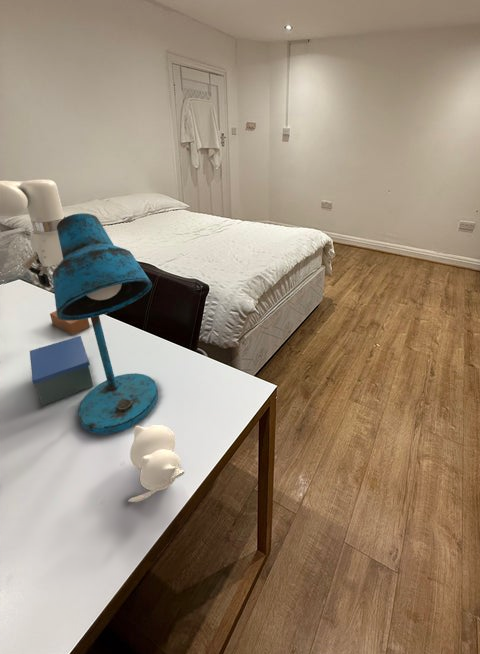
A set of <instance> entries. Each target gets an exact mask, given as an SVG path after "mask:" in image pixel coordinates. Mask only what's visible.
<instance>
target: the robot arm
mask: <svg viewBox="0 0 480 654" xmlns="http://www.w3.org/2000/svg"><path fill="white" fill-rule="evenodd" d="M58 189H59V188H58V184H57V183H56V182H55V181H54V180H52V179H46V178H45V179H43V178H42V179H41V178H40V179H38V178H37V179H30V180H29V179H28V180H24V181H23V180H0V216H1V217H9V218H10V217H16V216H19V215H21V214H23V213H24V212H25V211H26V210H27V212H28V215H29V219H30V222H31V226H32V231H30V234H29V235H30V247H31V253H32V255H30V256H29V257H27V258H26V259H25V260H24V261H23V262H22V263H21V266H22V267H24V268H25V269H26V270H27V271H29V272H31V273H33V274H36V275H37V276H36V277H37V279H38V282H39V284H40V285H41V286H43V287H46V288H49V287H51V283H50V280H49V276H48V274H47V273H46V272H47V270H48V268H50V267H54V266H58V265H59V264H60V263H61V261H62V260H63V256H62V251H61V246H60V241H59V236H58V231H57V224H58V223H59V222H60V221H61V220H62V219H63V218H65V217H66V216H65V214H64V210H63V205H62V201H61V197H60V193H59V190H58ZM34 263H35V264H36V267H34V266H33V264H34Z"/></svg>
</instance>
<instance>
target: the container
mask: <svg viewBox="0 0 480 654" xmlns="http://www.w3.org/2000/svg"><path fill="white" fill-rule="evenodd" d="M29 358H30V359H29V361H30V370H31V380H32V384H33V385H34V386H35V387H36V390H37V393H38V396H39V399H40V402H41V405H42V406H45V405H49V404H51V403H54V402H56V401H59V400H61V399H64V398H66V397H69V396H71V395H74V394H77V393H79V392H81V391H84V390H87V389H90V388H93V387H94V383H93V379H92V375H91V374H92V373H91V371H90V367H89V366H91V364H90V363H91V362H90V361H89V356H88V354H87V351H86V348H85V345H84V342H83V339H82V336H81V335H78V336H75V337H72V338H68V339H65V340H61V341H58V342H55V343H51V344H48V345H44V346H41V347H38V348H35V349H31V350H29Z"/></svg>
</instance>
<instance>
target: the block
mask: <svg viewBox="0 0 480 654" xmlns="http://www.w3.org/2000/svg"><path fill="white" fill-rule="evenodd" d="M49 316H50V320H51V324H52V325H53V326H56V327H57V328H59V329H61V330H62V331H65V332H67V333H69V334H71V335H73V336H74V335H76V334H78V333H80V332H82V331H84V330H86V329H89V328H90V326H91V325H90V321H89V318H87V319H82V320H74V321H65V320H61V319H59V318H58V316H57V311H56V310H55V311H52V312H49Z"/></svg>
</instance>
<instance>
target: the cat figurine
mask: <svg viewBox="0 0 480 654" xmlns="http://www.w3.org/2000/svg"><path fill="white" fill-rule="evenodd" d="M133 430H134V431H133V434H134V437H133V442H132V443H131V447H130V451H129V457H130V461H131V463H132V465H133V466H134V467H135V468H136V469H139V470H140V474H139V480H140V484H141V486H143V487H144V488H145V489H146V490H149V491H147V492H144V493H142V494H138V495H135V496H133V497H131V498H129V499H128V502H130V503H137V502H141V501H143V500H145V499H148V498H149V497H150V496H152V495H153V494H155V493H157V491H162V490H165V489H168V488H169V487H170V486H171V485H173V483H174V482H175V481H176V480H177V479H178V478H180V477H182V476H183V475H185V470H184V469H181V460H180V456H179V455H178V454H177V452H174V450H175V447H176V436H175V433H174V432H173V430H172V429H170V428H169V427H168V426H165V425H163V424H153V425H150V426H146V427H144V426H141V425H135V427H134V429H133Z"/></svg>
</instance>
